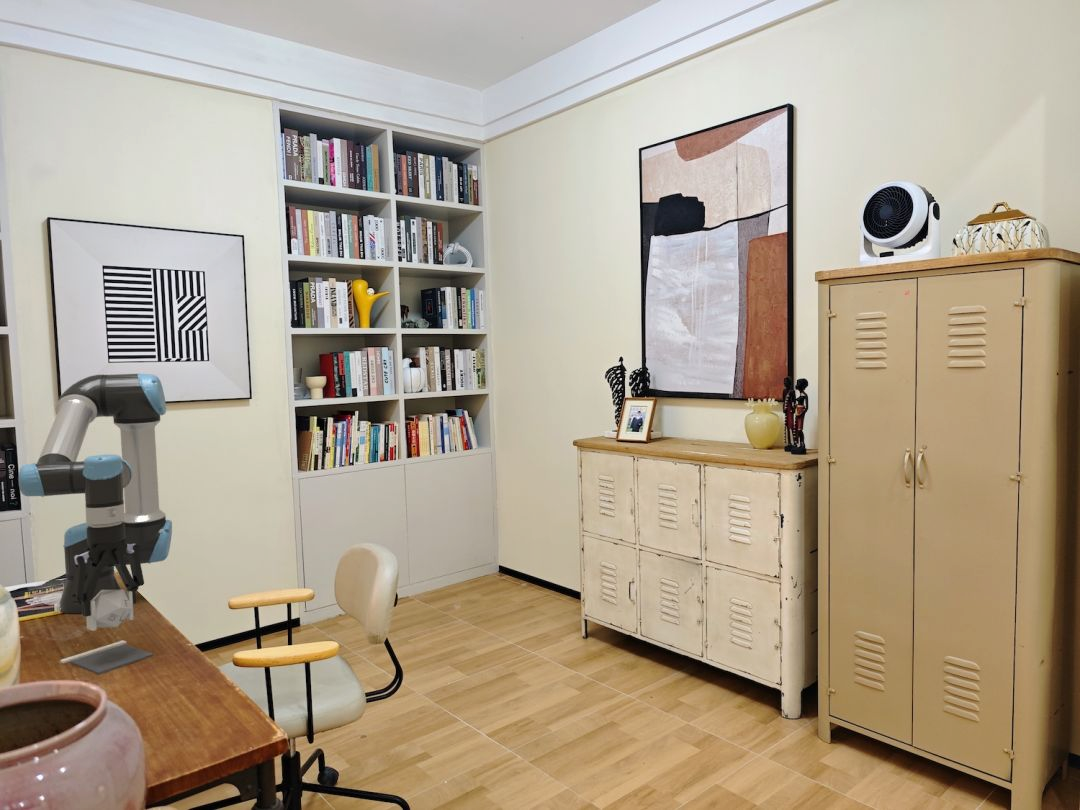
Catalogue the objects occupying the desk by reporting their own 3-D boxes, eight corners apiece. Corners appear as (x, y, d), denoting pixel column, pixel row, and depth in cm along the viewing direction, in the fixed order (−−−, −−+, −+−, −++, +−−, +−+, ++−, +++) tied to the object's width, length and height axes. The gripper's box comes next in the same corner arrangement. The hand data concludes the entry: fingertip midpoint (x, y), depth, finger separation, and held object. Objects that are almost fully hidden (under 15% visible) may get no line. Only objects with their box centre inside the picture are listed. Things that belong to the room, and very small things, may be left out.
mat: (123, 642, 180) (122, 640, 180) (157, 654, 172) (157, 652, 172) (60, 662, 169) (60, 659, 169) (93, 675, 161) (93, 673, 161)
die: (98, 637, 163) (127, 598, 165) (69, 616, 165) (98, 578, 167) (119, 638, 171) (147, 600, 173) (92, 617, 173) (119, 581, 175)
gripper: (65, 534, 158) (70, 641, 159) (159, 517, 175) (163, 613, 176) (48, 530, 162) (53, 634, 163) (141, 514, 179) (145, 608, 180)
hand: (110, 623), depth 169 cm, fingers closed on die, 7 cm apart
